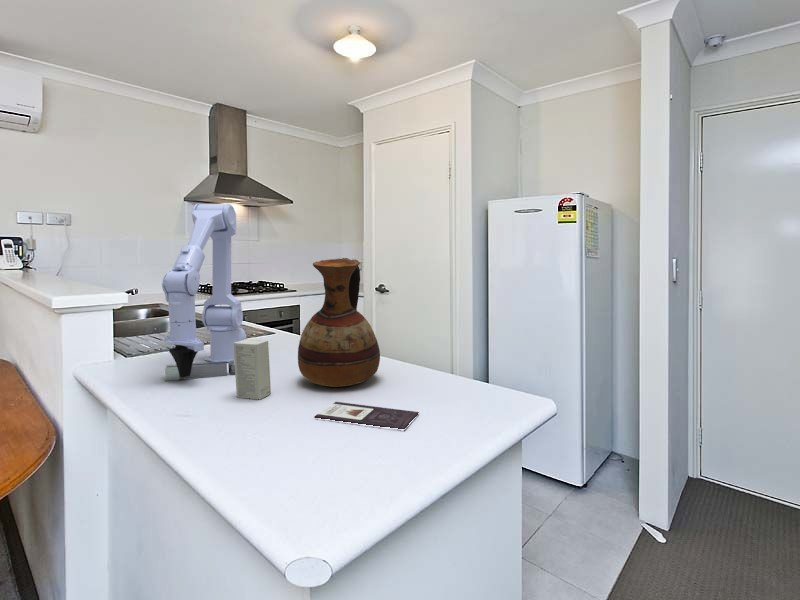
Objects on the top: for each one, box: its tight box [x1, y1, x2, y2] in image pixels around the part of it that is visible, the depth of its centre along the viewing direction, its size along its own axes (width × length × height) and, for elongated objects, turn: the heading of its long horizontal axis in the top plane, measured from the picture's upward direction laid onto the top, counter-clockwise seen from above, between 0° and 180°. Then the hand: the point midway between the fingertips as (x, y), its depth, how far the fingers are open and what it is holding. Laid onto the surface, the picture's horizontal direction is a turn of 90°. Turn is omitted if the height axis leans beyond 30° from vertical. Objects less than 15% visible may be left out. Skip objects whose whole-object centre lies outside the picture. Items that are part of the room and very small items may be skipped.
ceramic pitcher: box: [297, 257, 381, 388], centre depth 112 cm, size 20×20×30 cm
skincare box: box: [233, 338, 272, 400], centre depth 101 cm, size 6×4×12 cm
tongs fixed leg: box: [165, 360, 235, 376], centre depth 117 cm, size 18×3×3 cm, turn 110°
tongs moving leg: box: [164, 362, 228, 382], centre depth 116 cm, size 14×2×3 cm, turn 111°
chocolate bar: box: [313, 401, 420, 429], centre depth 90 cm, size 9×1×18 cm
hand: (185, 376), depth 113 cm, fingers closed
